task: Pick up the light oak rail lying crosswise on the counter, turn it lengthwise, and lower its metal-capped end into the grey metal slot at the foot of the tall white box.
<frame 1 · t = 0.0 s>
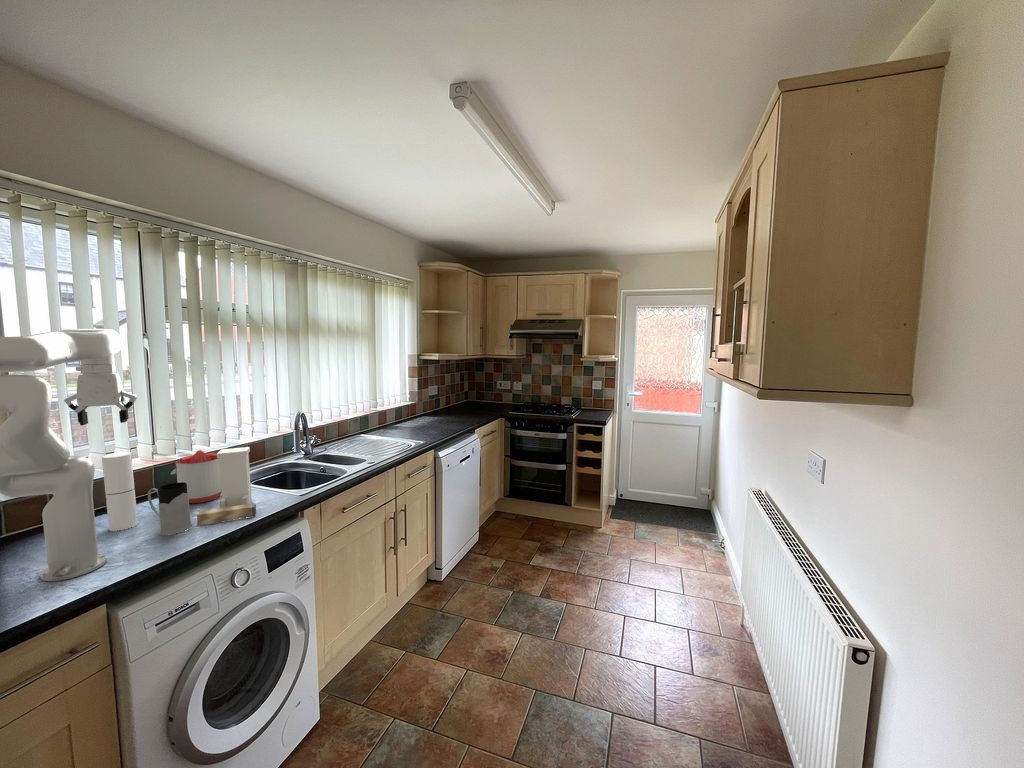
hand: (104, 423, 133), 37 cm above the counter, tool pointing down, fingers open, 9 cm apart
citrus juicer: (200, 499, 167), on the counter
tall white box: (237, 505, 160), on the counter
rail: (226, 519, 147), on the counter
cylindrical container: (123, 527, 142), on the counter
grey mug: (169, 529, 139), on the counter
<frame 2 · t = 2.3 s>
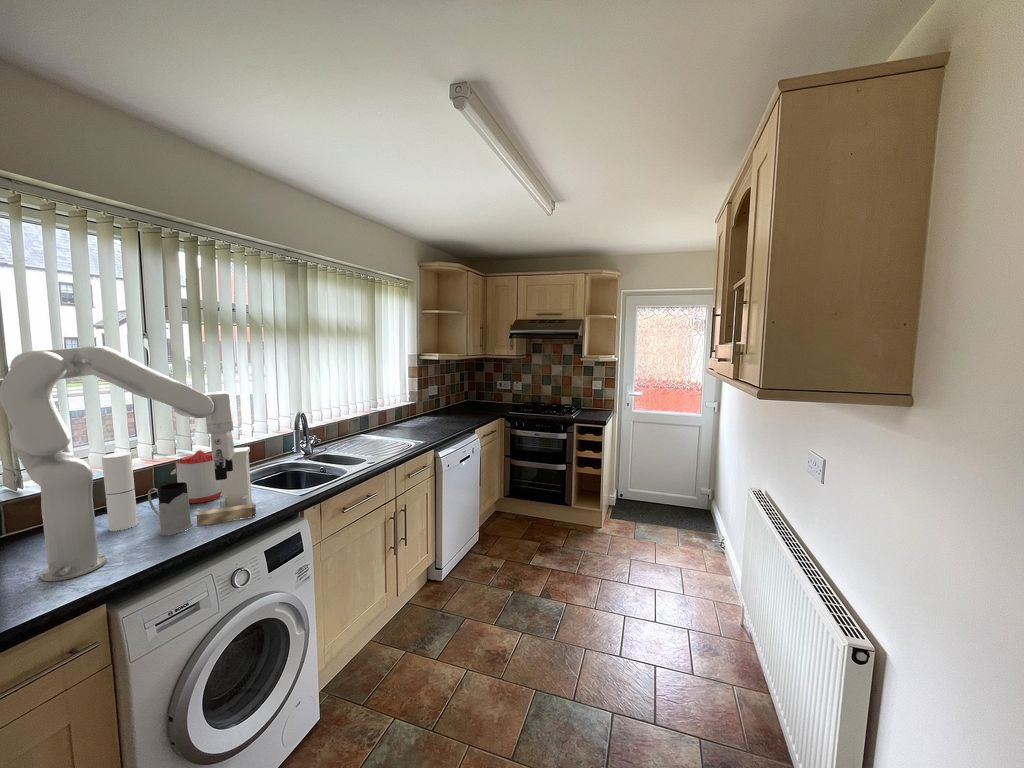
hand: (224, 475, 146), 16 cm above the counter, tool pointing down, fingers open, 9 cm apart
nothing on the counter moved.
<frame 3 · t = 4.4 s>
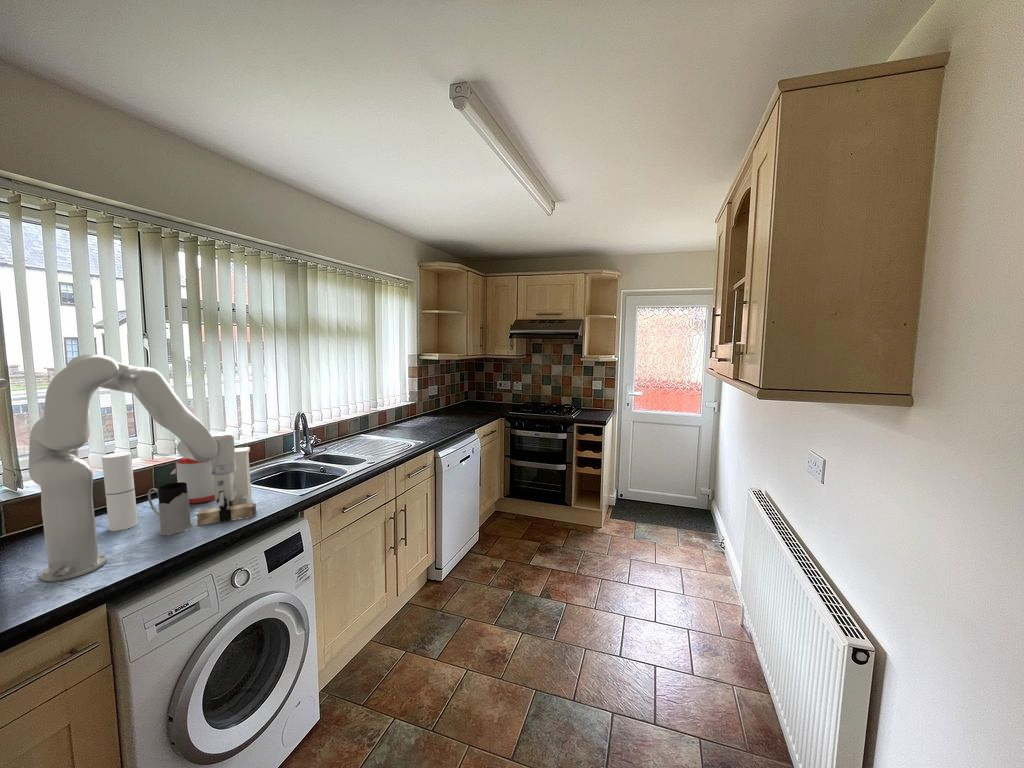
hand: (227, 517, 147), 0 cm above the counter, tool pointing down, fingers closed on rail, 4 cm apart
rail: (226, 519, 147), on the counter, touching gripper
everything else where it was.
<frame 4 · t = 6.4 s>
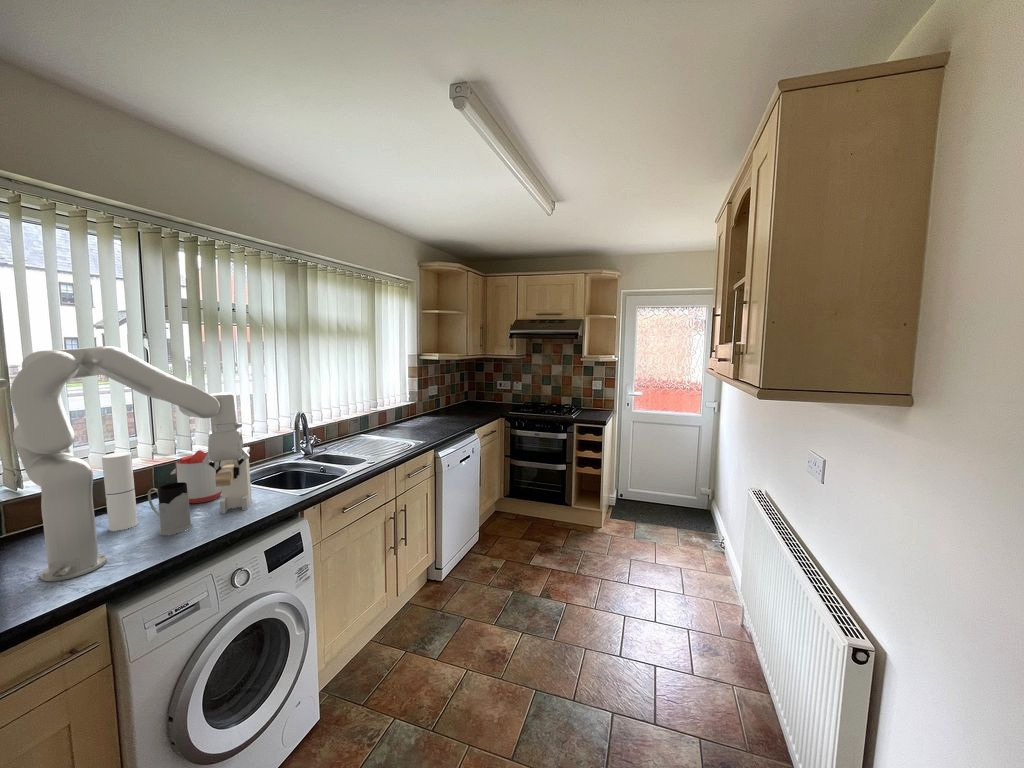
hand: (228, 477, 148), 14 cm above the counter, tool pointing down, fingers closed on rail, 4 cm apart
rail: (228, 479, 148), point 14 cm above the counter, touching gripper
everything else where it was.
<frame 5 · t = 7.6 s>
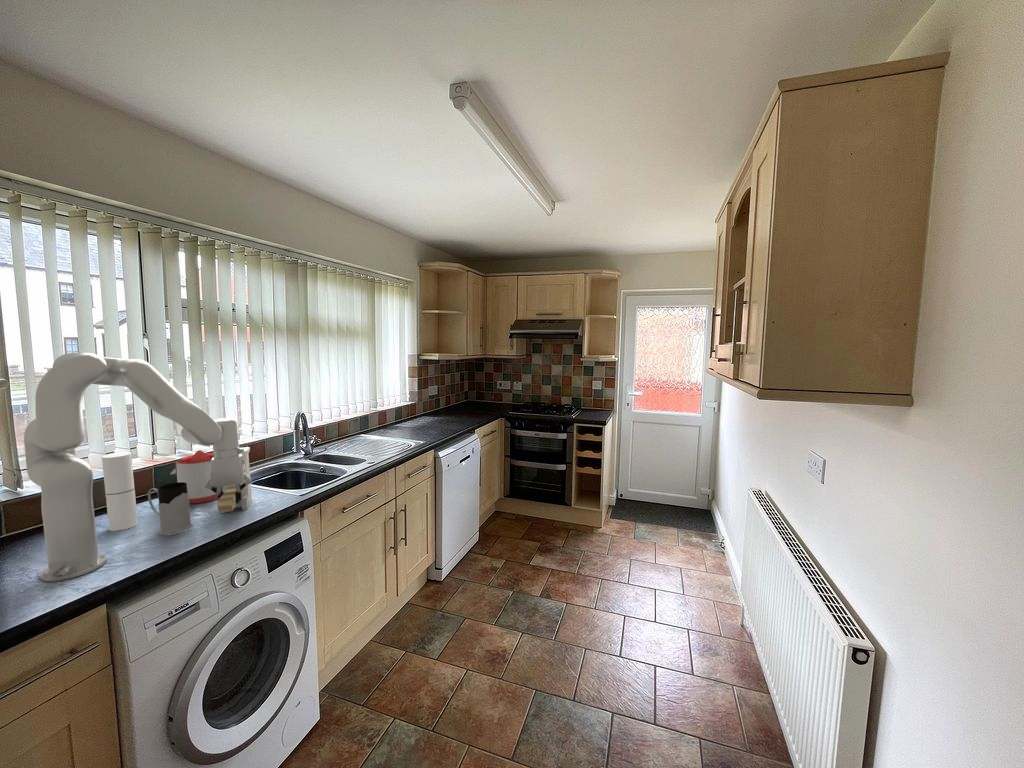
hand: (230, 502, 149), 5 cm above the counter, tool pointing down, fingers closed on rail, 4 cm apart
rail: (230, 504, 149), point 5 cm above the counter, touching gripper
everything else where it was.
when the fingers open (1 cm above the counter, at t = 8.7 s): rail drops 1 cm, on the counter.
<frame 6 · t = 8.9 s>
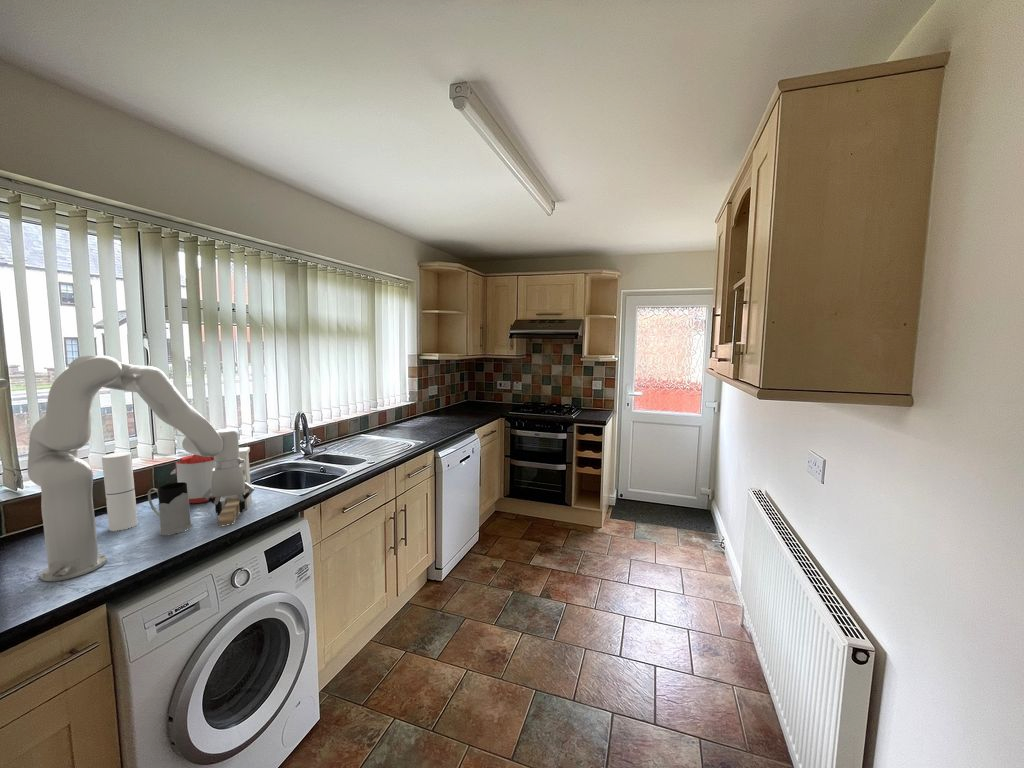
hand: (230, 512, 149), 2 cm above the counter, tool pointing down, fingers open, 6 cm apart
rail: (231, 517, 149), on the counter
everything else where it was.
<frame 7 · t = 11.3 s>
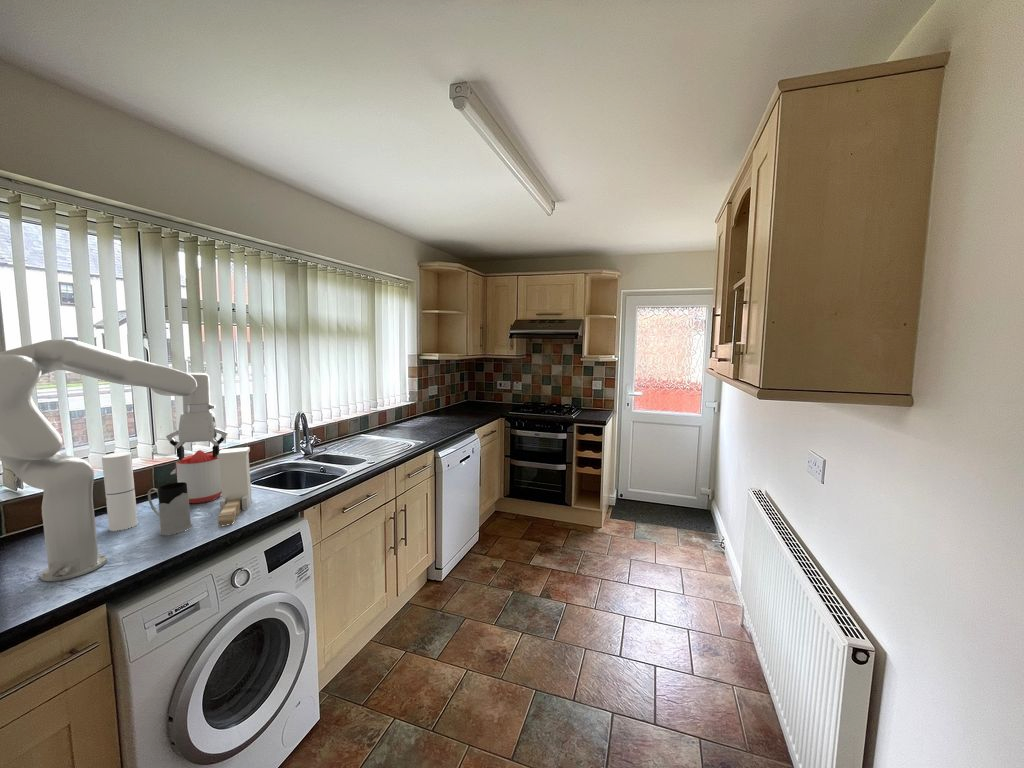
hand: (198, 457, 144), 23 cm above the counter, tool pointing down, fingers open, 9 cm apart
nothing on the counter moved.
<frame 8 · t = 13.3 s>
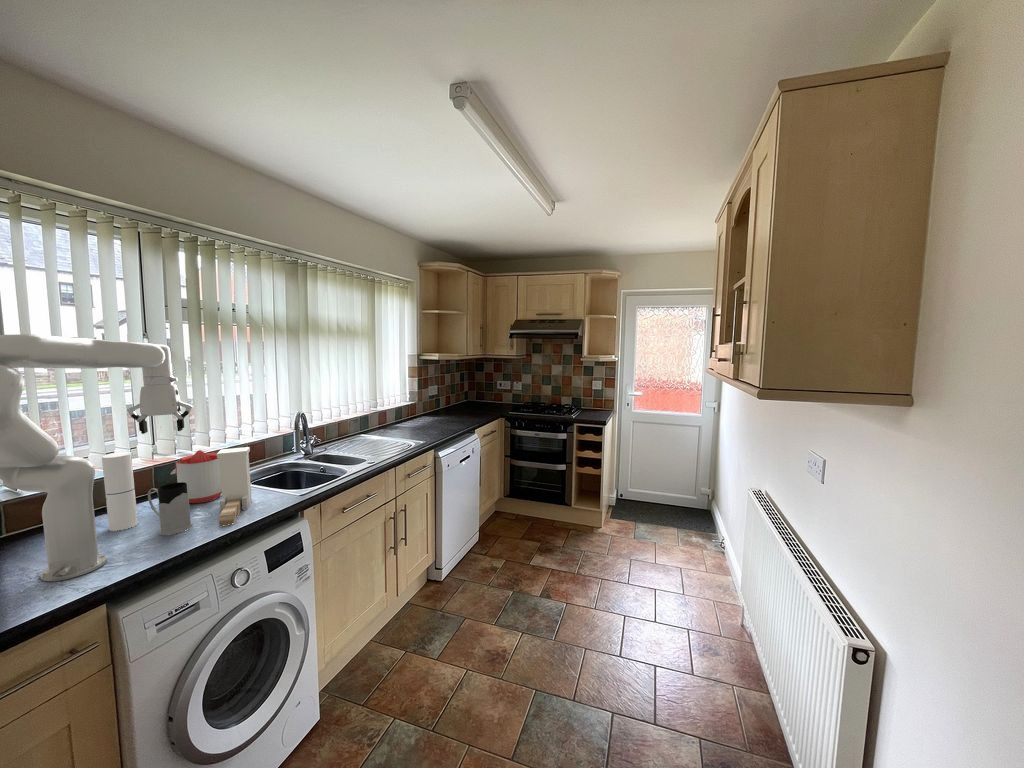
hand: (162, 431, 141), 32 cm above the counter, tool pointing down, fingers open, 9 cm apart
nothing on the counter moved.
at the end: rail 0.8 cm from the target spot on the counter beside the tall white box, on the counter; rail tilted 0°; the gripper is holding nothing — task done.
